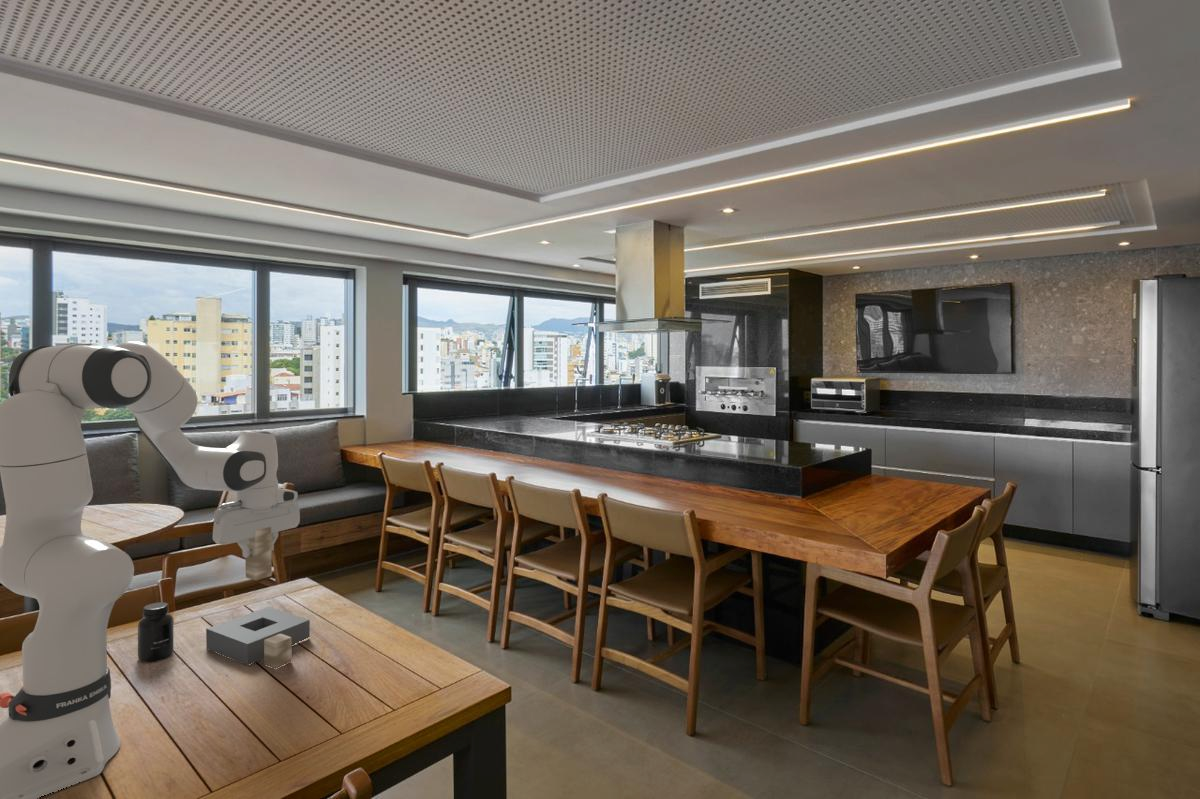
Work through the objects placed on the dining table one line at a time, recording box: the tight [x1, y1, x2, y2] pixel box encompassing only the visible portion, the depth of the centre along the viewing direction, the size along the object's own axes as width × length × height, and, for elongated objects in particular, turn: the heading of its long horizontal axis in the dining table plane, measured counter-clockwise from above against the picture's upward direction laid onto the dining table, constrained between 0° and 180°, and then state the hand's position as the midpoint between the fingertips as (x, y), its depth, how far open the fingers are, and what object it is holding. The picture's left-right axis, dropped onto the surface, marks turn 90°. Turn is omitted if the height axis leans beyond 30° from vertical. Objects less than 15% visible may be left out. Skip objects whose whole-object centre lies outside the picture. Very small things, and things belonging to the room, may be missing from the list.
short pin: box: [263, 634, 293, 669], centre depth 146 cm, size 4×4×6 cm
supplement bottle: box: [137, 601, 175, 663], centre depth 148 cm, size 7×7×12 cm
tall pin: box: [244, 527, 273, 581], centre depth 154 cm, size 4×4×12 cm
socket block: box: [205, 606, 311, 666], centre depth 156 cm, size 16×16×5 cm
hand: (258, 553), depth 154 cm, fingers closed on tall pin, 4 cm apart
